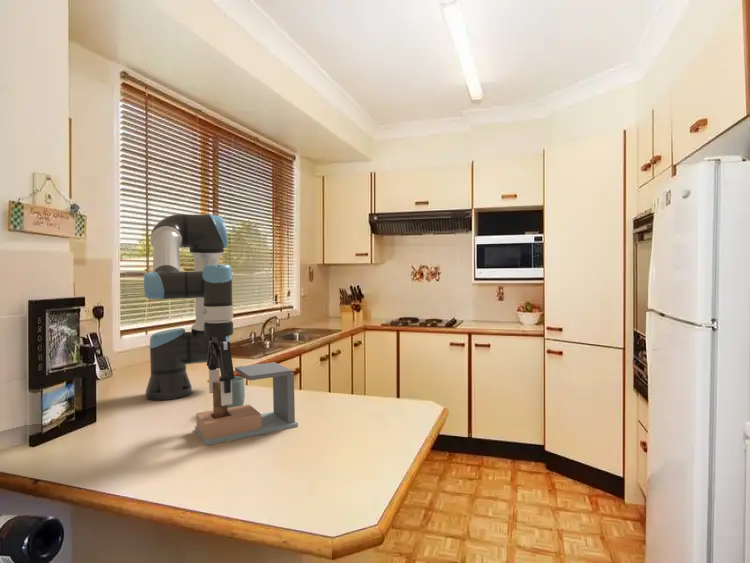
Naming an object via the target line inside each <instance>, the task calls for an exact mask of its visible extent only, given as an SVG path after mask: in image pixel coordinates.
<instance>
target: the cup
mask: <svg viewBox="0 0 750 563" xmlns="http://www.w3.org/2000/svg"><path fill="white" fill-rule="evenodd" d="M234 376H235V375H234ZM245 382H246V381H245V377H243V376H235V377H234V379H232V404H230V405H227V408H231V407H237V406H242V405H245V399H246V398H245V397H246V394H245V393H246V392H245V391H246V386H245Z"/></svg>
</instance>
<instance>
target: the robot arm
mask: <svg viewBox="0 0 750 563" xmlns="http://www.w3.org/2000/svg"><path fill="white" fill-rule="evenodd" d="M150 244H151V246H153V253H152V254H153V255H152V256H153V258H152V272H149V271H148V272H146V273H145V274H143V276H144V277H143V293H144V296H145V298H146V299H149V300H170V299H173V300H174V299H193V298H194V299H195V300H194V305H195V306H194V307H195V308H194V309H195V323H193V325H191V331H186V329H185V328H183V327H178V328H172V329H171V328H169V329H165V330H161V331H158V332H155V333H153V334H152V335H150V338H149V347H148V348H149V352H150V354H149V355H150V357H149V358H150V359H149V360H150V363H149V364H150V377H149V380H148V383H147V386H146V390H145V397H146V399H147V400H151V401H166V400H167V401H168V400H174V399H175V400H176V399H180V398H185V397H186V396H189V395H191V393H193V392H192V391H193V389H192V388H193V387H192V384H191V381H190V378H189V376H188V373H187V365H190V364H191V365H193V364H202V363H204V364H205V363H206V367H207V368H208V388H209V389H208V390H209V394H213V382H216V381H219V382H220V381H221V405H222V406H224V405H230V404H232V379H234V377H235V373H234V371H235V370H234V366H233V365H234V364H233V358H232V351H231V342H230V336H232V335H233V334H234V322H233V321H232V320H233V319H234V305H233V273H232V266H231V265H230V264H220V258H221V256H222V255H223V254H224V252H225V250H224V249H226V248H228V247H229V238H228V230H227V226H226V222H225V219H224V218H223V217H222V216H221V215H215V214H182V213H178V214H172V215H169V216H166V217H164V218H163V219H161V220H160V221H158V223H156V224H155V225H154V227H153V228H152V230H151V233H150ZM180 248H189V253H190V254H191V255H192V257H193V258H194V271H182V270H181V257H180V254H181V253H180ZM220 376H221V377H220Z"/></svg>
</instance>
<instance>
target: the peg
mask: <svg viewBox="0 0 750 563" xmlns="http://www.w3.org/2000/svg"><path fill="white" fill-rule="evenodd" d="M212 406H213V407H212V408H213V409H212V411H213V412H214V419H216V418H222V417H227V405H224V406H222V405H221V381H220V382H219V381H216V382H213V393H212Z"/></svg>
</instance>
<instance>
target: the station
mask: <svg viewBox="0 0 750 563" xmlns="http://www.w3.org/2000/svg"><path fill="white" fill-rule="evenodd" d="M234 371H235V372H236V373H237V374H239V376H240V375H241V377H244V379H246V380H248V381H255V380H256V381H257V380H264V379H270V378H272V395H273V397H272V401H273V402H272V403H273V411H270V412H266V413H265V412H263V413H260V412H259V411H258V410H257V409H256V408H254V407H253V406H252V405H251V404H243V405H242V406H237V407H231V408H227V417H222V418H216V419H214V412H213V410H209V411H203V412H201V411H200V412H197V413H196V414H195V416H196V421H195V422H196V425H195V426H194V428H195V429H194V430H195V431H196V433H197V434H198V436H199V437H200V438H201V440H202V442H203V443H204V445H206V446H210V445H214V444H215V443H216V444H220V443H224V441H225V442H229V440H230V441H234V439H235V440H238V439H243V438H248V437H254V436H257V435H264V434H268V433H274V432H277V431H282V430H287V429H292V428H297V427H299V423H298V421H296V417H295V416H296V415H295V410H296V409H295V408H296V407H295V373H294V372H293V370H292V369H291V368H288V367H285V366H284V365H282V364H279V363H278V362H275V361H272V362H266V363H264V362H263V363H257V364H248V365H242V366H235V367H234ZM219 442H220V443H219Z"/></svg>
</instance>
